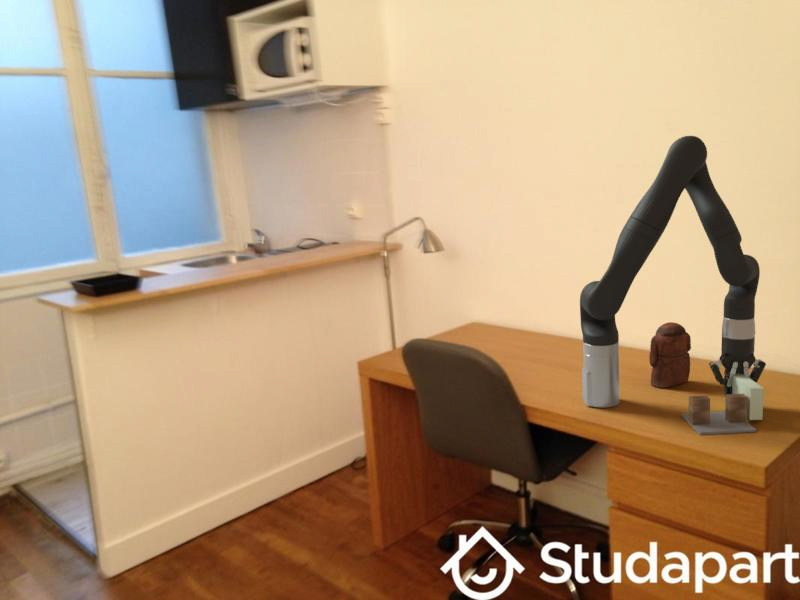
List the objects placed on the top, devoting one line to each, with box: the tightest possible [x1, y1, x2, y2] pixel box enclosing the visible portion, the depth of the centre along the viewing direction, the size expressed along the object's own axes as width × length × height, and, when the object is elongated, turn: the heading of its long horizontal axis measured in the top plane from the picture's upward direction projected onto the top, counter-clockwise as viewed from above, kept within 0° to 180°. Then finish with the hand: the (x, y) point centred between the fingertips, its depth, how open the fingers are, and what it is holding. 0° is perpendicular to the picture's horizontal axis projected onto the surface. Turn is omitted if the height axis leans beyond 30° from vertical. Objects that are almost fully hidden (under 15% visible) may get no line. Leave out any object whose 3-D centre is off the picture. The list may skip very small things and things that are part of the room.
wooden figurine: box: [649, 321, 692, 389], centre depth 198 cm, size 12×6×18 cm, turn 115°
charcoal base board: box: [681, 411, 757, 436], centre depth 170 cm, size 13×12×1 cm
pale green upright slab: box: [732, 373, 765, 421], centre depth 174 cm, size 3×14×8 cm, turn 177°
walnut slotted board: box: [688, 394, 748, 425], centre depth 169 cm, size 13×2×6 cm, turn 87°
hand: (736, 398), depth 179 cm, fingers closed on pale green upright slab, 3 cm apart
